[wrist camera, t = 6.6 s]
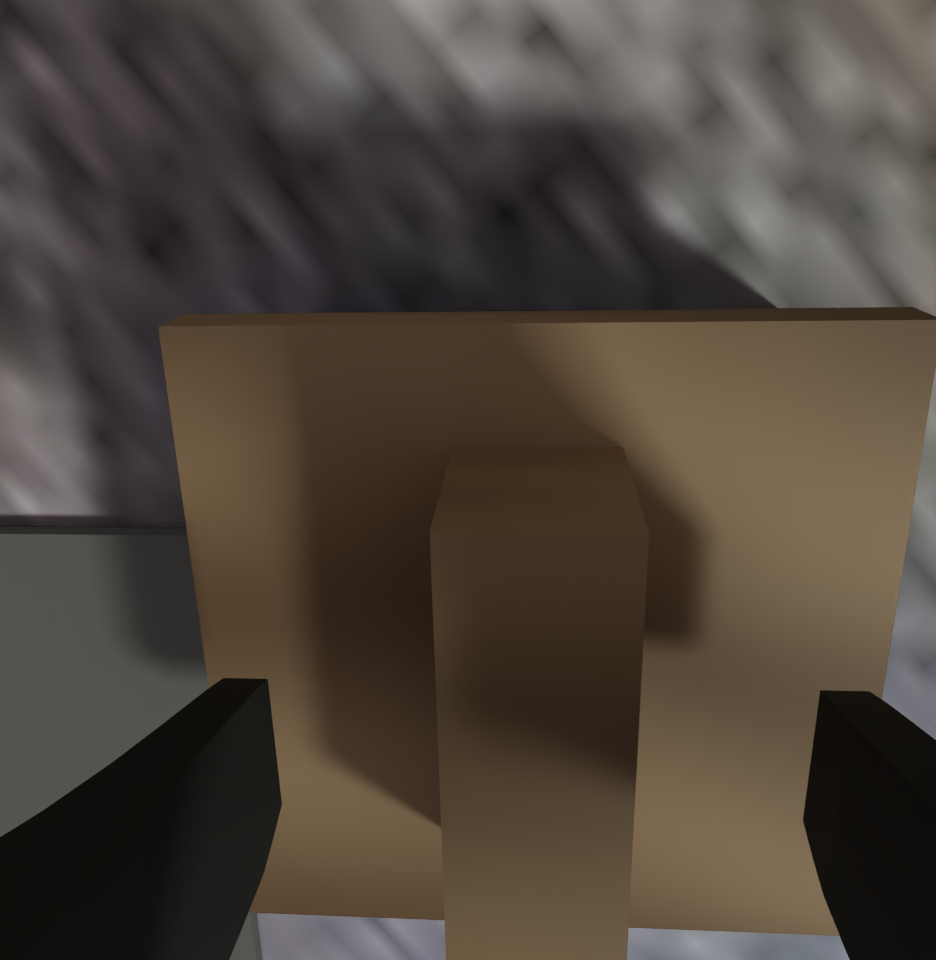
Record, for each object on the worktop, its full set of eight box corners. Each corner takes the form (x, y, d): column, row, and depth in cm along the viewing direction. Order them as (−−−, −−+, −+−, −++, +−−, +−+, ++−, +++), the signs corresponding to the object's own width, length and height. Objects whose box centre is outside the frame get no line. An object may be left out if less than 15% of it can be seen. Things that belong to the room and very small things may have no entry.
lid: (825, 890, 16) (913, 1112, 12) (256, 869, 17) (177, 1074, 13) (912, 307, 13) (1073, 373, 9) (184, 314, 13) (47, 378, 10)
